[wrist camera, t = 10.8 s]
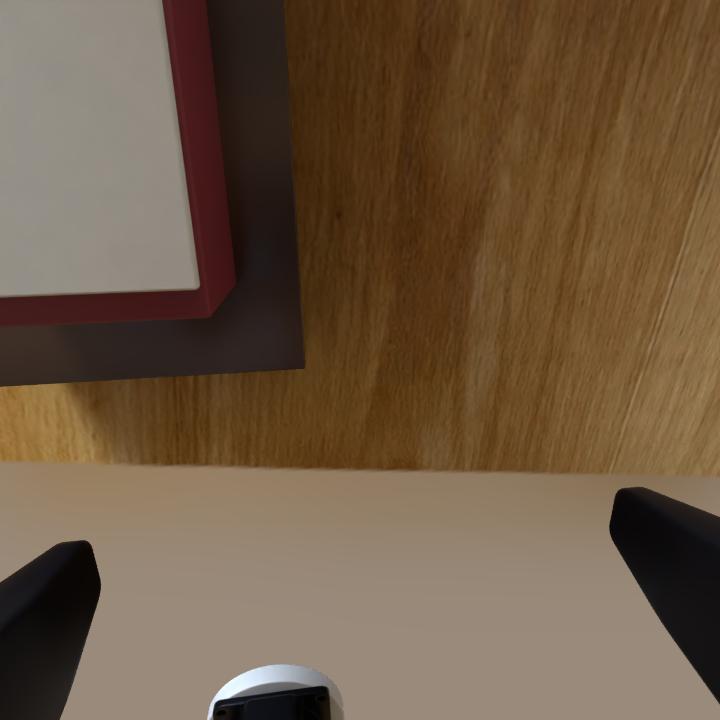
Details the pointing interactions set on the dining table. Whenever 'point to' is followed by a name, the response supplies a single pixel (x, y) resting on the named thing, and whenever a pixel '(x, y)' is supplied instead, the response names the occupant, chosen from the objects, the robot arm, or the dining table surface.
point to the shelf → (248, 233)
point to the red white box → (110, 164)
